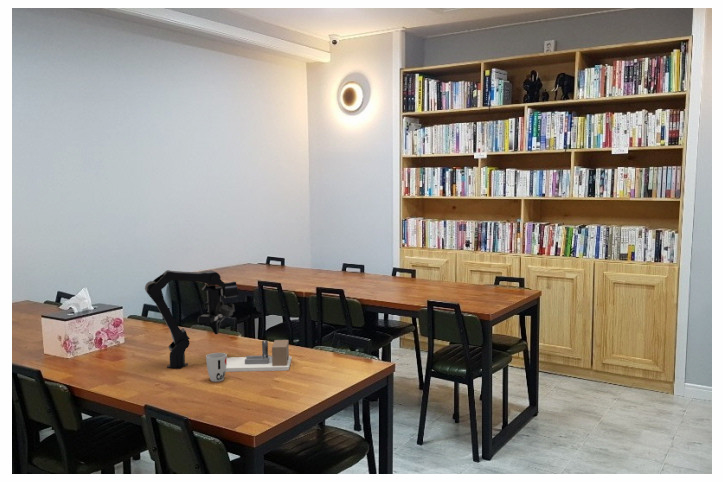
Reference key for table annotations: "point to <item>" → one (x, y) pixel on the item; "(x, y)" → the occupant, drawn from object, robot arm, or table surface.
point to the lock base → (263, 360)
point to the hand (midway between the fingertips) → (216, 334)
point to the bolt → (265, 351)
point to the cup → (216, 366)
